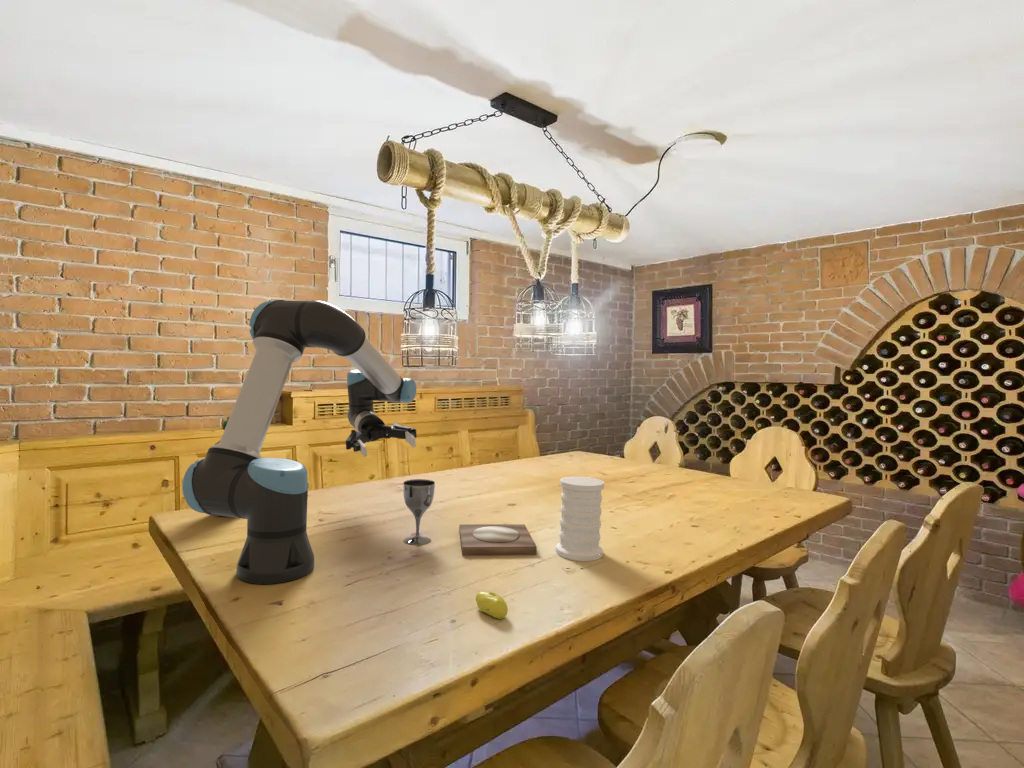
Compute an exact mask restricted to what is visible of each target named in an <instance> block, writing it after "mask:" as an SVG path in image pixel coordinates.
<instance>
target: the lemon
mask: <svg viewBox="0 0 1024 768" xmlns="http://www.w3.org/2000/svg"><path fill="white" fill-rule="evenodd" d="M475 602H476V606H477V608H478V610H479V611H480V612H483V613H485V614H487V615H488V616H490V617H493V618H495V619H497V620H502V619H504V618H505V617H506V616H507V614H508V611H509V610H508V609H509V608H508V605H507V602H506V601H505V599H504V598H503V597H502V596H501V595H499V594H497V593H495V592H492V591H483V590H482V591H479V592H478V593H476V595H475Z"/></svg>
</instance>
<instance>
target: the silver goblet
mask: <svg viewBox="0 0 1024 768" xmlns="http://www.w3.org/2000/svg"><path fill="white" fill-rule="evenodd" d="M402 486H403V487H402V489H403V490H402V491H403V493H402V494H403V500H404V503H405V506H406V507H407V509H408V510H410V512H411V514H412V515H413V517H414V519H415V535H412V536H407V537H405V538H404V539H403V540H402V541H403V543H404V544H407V545H410V546H423V545H428V544H429V543H431V542H432V539H431V538H430V537H428V536H425V535H424V536H423V535H420V525H421V518H422V517H423V515H424V514H425V513H426V512H427V510H428V509H429V508H430V507H431V506H432V503H433V500H434V496H435V492H436V491H435V488H436V483H435V481H434V480H431V479H425V478H415V479H413V478H412V479H407V480H405V481H403V485H402Z"/></svg>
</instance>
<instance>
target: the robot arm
mask: <svg viewBox="0 0 1024 768" xmlns="http://www.w3.org/2000/svg"><path fill="white" fill-rule="evenodd" d="M248 324H249V325H248V326H249V327H250V329H249V334H250V337H251V338H252V345H253V347H254V348H255V350H256V351H255V353H254V356H253V357H252V361H251V363H250V366H249V368H248V371H247V374H246V375H245V378H244V380H243V382H242V386H241V388H240V390H239V393H238V396H237V398H236V401H235V403H234V406H233V408H232V411H231V413H230V415H229V416H230V418H229V420H228V423H227V425H226V427H225V430H223V432H222V435H221V437H220V439H219V441H220V442H219V441H218V442H219V443H218V444H216V443H214V444H213V445H211V446H209V448H208V449H207V452H206V455H205V457H203V458H201V459H198V460H196V461H195V462H194V463H191V464H190V465H189V466H188V467H187V469H186V471H185V472H184V476H183V477H182V478H183V479H182V484H181V485H182V489H181V490H182V495H183V497H184V499H185V500H184V501H185V503H186V505H188V507H189V508H191V509H192V510H193V511H195V512H197V513H201V514H206V515H210V516H214V517H215V516H218V515H219V517H223V516H227V517H228V518H235V519H236V518H237V519H242V520H243V519H245V520H247V523H246V527H247V528H246V539H245V541H244V544H243V548H242V550H241V553H240V556H239V557H238V560H237V564H236V577H237V579H239V580H240V581H243V582H246V583H248V584H249V583H250V584H255V585H256V584H258V585H269V584H280V583H286V582H290V581H294V580H297V579H300V578H303V577H304V576H306V575H309V574H310V573H311V572H312V571H314V568H315V555H314V552H313V549H312V548H313V547H312V545H311V542H310V539H309V536H308V532H307V529H308V528H307V524H308V523H307V522H308V521H307V520H308V499H309V498H308V497H309V496H308V494H309V488H310V487H309V479H308V469H307V467H306V466H305V465H304V464H302V463H301V462H300V461H296V460H294V459H289V458H281V457H278V458H277V457H276V458H275V457H262V456H261V453H260V452H261V450H262V447H263V444H264V442H265V439H266V437H267V433H268V431H269V428H270V425H271V424H272V423H271V422H272V420H273V417H274V415H275V411H276V409H277V406H278V403H279V401H280V398H281V395H282V392H283V389H284V387H285V384H286V381H287V378H288V376H289V374H290V371H291V367H292V365H293V363H295V362H297V361H300V360H301V359H302V356H303V353H304V351H305V349H306V348H320V349H327V350H329V351H332V352H333V354H335V355H336V356H338V357H342V358H343V357H344V358H345V359H346V360H347V361H348V362H349V363H350V364H351V365H352V366H353V367H355V368H356V369H351V370H349V371H348V372H347V373H346V387H347V396H348V410H347V414H346V416H347V420H348V422H349V424H350V425H351V426H352V427H353V428H354V429H352V430H351V431H350V434H349V436H348V437H347V438H346V440H345V447H346V450H349V451H350V450H351V449H352V448H353V449H352V451H353V452H354V453H355V452H360V454H361V455H362V456H363V457H368V454H367V453H368V451H367V446H366V443H369V442H375V441H378V440H379V439H391V438H394V439H395V438H396V439H402V440H405V441H406V443H408V444H409V445H410V446H411V447H412V448H416V447H417V443H416V438H417V437H418V436H417V429H416V428H414V427H410V426H406V425H401V424H398V423H395V422H394V423H392V426H390V425H386V424H385V422H384V420H382V419H381V418H380V416H379V415H377V414H376V413H375V412H374V411H375V410H374V409H375V407H374V402H387V403H388V402H390V403H401V404H402V403H412V402H413V401H414V400H415V398H416V395H417V384H416V381H415V380H414V379H413V378H407V377H405V378H404V377H401V375H400V374H399V373H398V372H397V371H396V369H395V368H394V367H393V366H392V365H391V364H390V363H389V362H388V361H387V359H386V358H384V356H383V355H382V354H381V352H379V350H377V348H376V347H375V345H373V344H372V343H371V342H370V341H369V339H368V338H367V335H366V330H364V328H363V327H362V326H361V324H360V323H359V322H358V321H356V319H354V318H353V317H352V316H351V315H349V314H348V313H346V311H344V310H342V309H341V308H339V307H337V306H336V305H333V304H331V303H329V302H326V301H322V300H286V299H274V300H267V301H264V302H261V303H260V304H258V306H257V307H255V309H254V310H253V311H252V313H251V316H250V319H249V323H248Z"/></svg>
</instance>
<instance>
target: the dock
mask: <svg viewBox="0 0 1024 768" xmlns="http://www.w3.org/2000/svg"><path fill="white" fill-rule="evenodd" d="M458 529H459V530H458V533H459V534H458V535H459V540H460V541H459V543H460V549H461V550H460V551H461V556H508V555H509V556H512V555H513V556H518V555H521V556H523V555H529V556H530V555H536V556H537V545H536V543H535V541H534V539H533V537H532V535H531V534H530V532H529V529H528V528H527V526H526V525H525V523H522V524H520V523H519V524H517V523H516V524H515V523H514V524H511V523H510V524H506V523H505V524H498V523H497V524H487V523H486V524H485V523H484V524H475V523H473V524H471V523H470V524H469V523H468V524H462V523H461V524H459V527H458Z"/></svg>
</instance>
